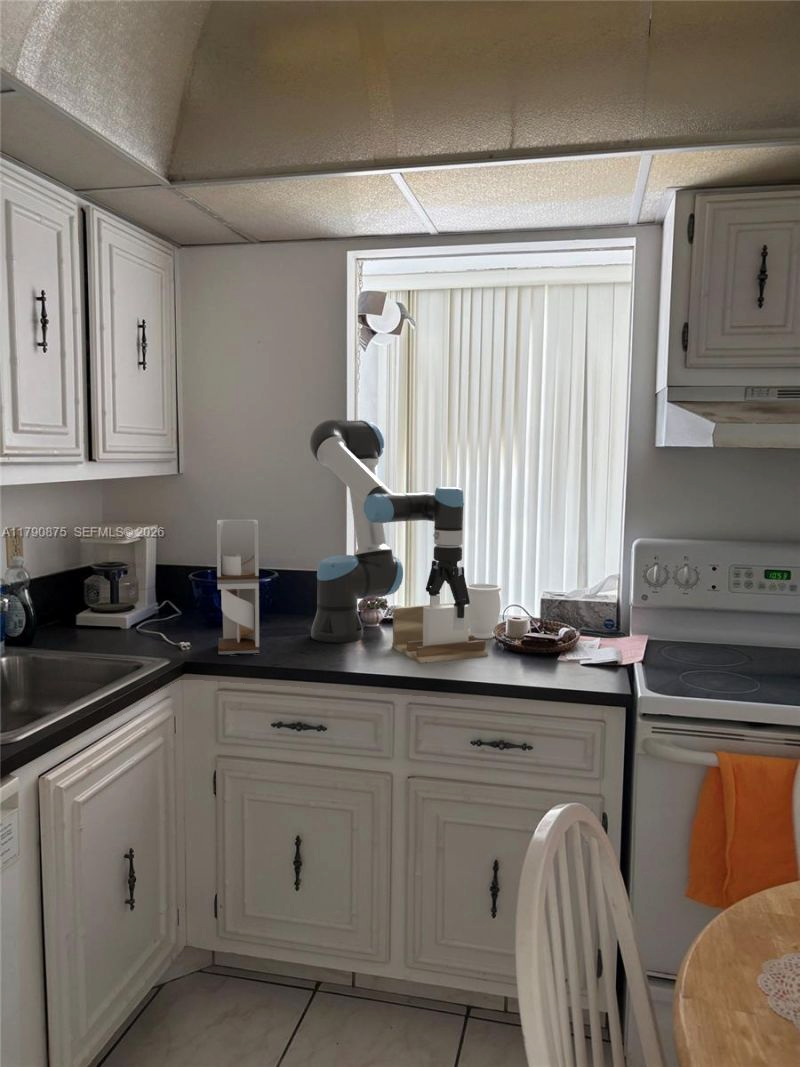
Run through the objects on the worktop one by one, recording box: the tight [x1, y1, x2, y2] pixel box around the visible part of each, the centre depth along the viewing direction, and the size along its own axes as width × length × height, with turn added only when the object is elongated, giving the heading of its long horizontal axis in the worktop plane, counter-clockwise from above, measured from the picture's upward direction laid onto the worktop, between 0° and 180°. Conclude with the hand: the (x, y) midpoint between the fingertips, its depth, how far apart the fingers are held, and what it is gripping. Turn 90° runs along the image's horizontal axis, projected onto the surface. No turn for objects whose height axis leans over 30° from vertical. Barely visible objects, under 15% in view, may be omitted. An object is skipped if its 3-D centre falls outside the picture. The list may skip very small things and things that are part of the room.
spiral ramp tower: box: [216, 519, 260, 654], centre depth 215 cm, size 11×11×35 cm
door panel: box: [423, 604, 469, 646], centre depth 213 cm, size 4×12×12 cm, turn 115°
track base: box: [391, 602, 489, 664], centre depth 217 cm, size 18×20×11 cm
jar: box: [466, 583, 502, 640], centre depth 235 cm, size 11×10×15 cm
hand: (446, 624), depth 214 cm, fingers open, 13 cm apart
